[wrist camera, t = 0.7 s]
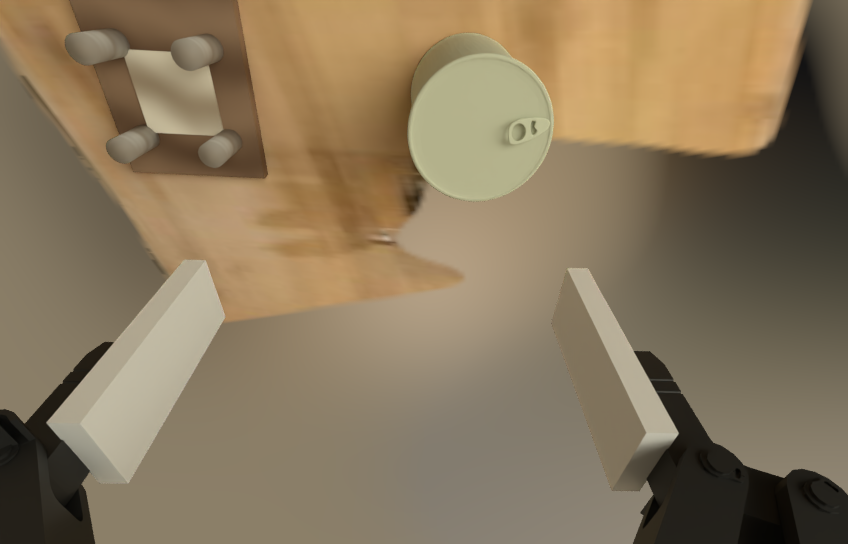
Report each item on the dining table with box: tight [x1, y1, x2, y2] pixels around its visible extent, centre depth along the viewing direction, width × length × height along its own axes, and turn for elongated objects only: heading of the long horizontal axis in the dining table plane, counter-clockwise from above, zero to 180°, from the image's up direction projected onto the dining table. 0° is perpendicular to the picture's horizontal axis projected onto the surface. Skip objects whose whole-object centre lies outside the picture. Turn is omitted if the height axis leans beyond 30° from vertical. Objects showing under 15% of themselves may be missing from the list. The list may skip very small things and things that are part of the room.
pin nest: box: [65, 0, 268, 178], centre depth 31 cm, size 20×12×5 cm, turn 177°
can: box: [407, 33, 554, 201], centre depth 30 cm, size 9×9×12 cm
